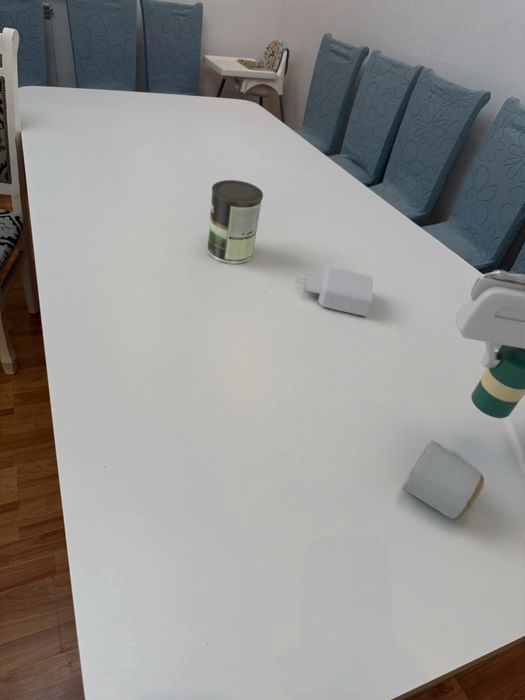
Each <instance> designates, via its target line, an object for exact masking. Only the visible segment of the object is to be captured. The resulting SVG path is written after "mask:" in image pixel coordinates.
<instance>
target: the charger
mask: <svg viewBox="0 0 525 700" xmlns="http://www.w3.org/2000/svg"><path fill="white" fill-rule="evenodd" d="M296 279H298V280H295V282H294V283H295V284H296V283H297V284H300V285H304V289H303V290H304V291H305V292H308V293H309V292H310V293H314V294H318V300H317V303H318V304H319V305H320V306H321V307H322V308H327V309H331V310H337V311H340V312H344V313H349V314H353V315H358V316H362V317H367V314H368V312H369V309H370V307H371V303H372V299H373V276H370V275H367V274H361V273H356V272H353V271H348V270H343V269H340V268H335V267H327V268H325V269H324V272H323V275H322V276H319V275H315V274H312V273H311V274H310V273H307V275H306V277H303V276H300V275H299V276H298V275H297V276H296ZM301 280H303V281H301ZM304 281H305V282H304Z"/></svg>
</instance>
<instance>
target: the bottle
mask: <svg viewBox="0 0 525 700" xmlns="http://www.w3.org/2000/svg"><path fill="white" fill-rule="evenodd" d="M496 352H497V353H498V356H499V358H500V360H501V361H500V363H499V364H498V365H497V368H496V369H492V368H487V367H486V369H485V371H484V372H483V374H482V375H481V378H480V380H479V382H478V383H477V384H476V386H475V388H474V390H473V391H472V393H471V401H472V404H473V405H474V406H475V408H477V409H478V410H479V411H480V412H481V413H483V414H485V415H486V416H489V417H491V418H495V419H505V418H507V417H509V416H510V415H511V414H512V412H513V411H514V409H515V408H516V407H517V405H518V404H519V402H520V401H521V400H522V399H523V397H524V395H525V349H523V348H517V347H512V346H506V345H501V347H500V349H498V350H497V351H496Z"/></svg>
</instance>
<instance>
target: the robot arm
mask: <svg viewBox="0 0 525 700" xmlns="http://www.w3.org/2000/svg"><path fill="white" fill-rule="evenodd" d="M454 319H455V324H456V328H457V329H458V332H459V333H460V335H461V338H462V337H463V338H464V339H467V340H473V341H478V342H484V346H485V352H484V354H483V356H482V357H481V363H482V366H483V368H486V369H487V368H492V369H496V368H497V365H498V364H499V363H500V361H501V360H500V358H499V356H498V353H497V352H498V350H499V349H500V347H501V346H502V345H506V346H512V347H517V348H523V349H525V274H524V273H520V272H519V273H518V272H509V271H506V270H504V269H494V270H493V271H490V272H489V271H488V272H485V273H483V274H481V275H479V276H478V277H477V278H476V279H475V282H474V283H473V286H472V288H471V290H470V293H469V294H468V295H467V297H466V298H465V299H464V301H463V302H462V304H461V306H460V307H459V309H458V310H457V312H456V315H455V318H454ZM495 350H497V351H495Z"/></svg>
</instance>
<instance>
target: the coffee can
mask: <svg viewBox="0 0 525 700" xmlns="http://www.w3.org/2000/svg"><path fill="white" fill-rule="evenodd" d="M263 198H264V192H263V191H262V190H261V188H259V187H257V186H256V185H254V184H252V183H250V182H246V181H242V180H236V179H225V180H219V181H217V182H215V183H214V184H213V185H212V187H211V203H210V215H209V223H208V224H209V225H208V236H207V246H206V251H207V254H208V255H209V257H211V258H212V259H214V260H215V261H217V262H220V263H222V264H228V265H240V264H246V263H248V262H249V261H250V260H252V259H253V257H254V249H255V244H256V236H257V230H258V224H259V219H260V212H261V205H262V200H263Z"/></svg>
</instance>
